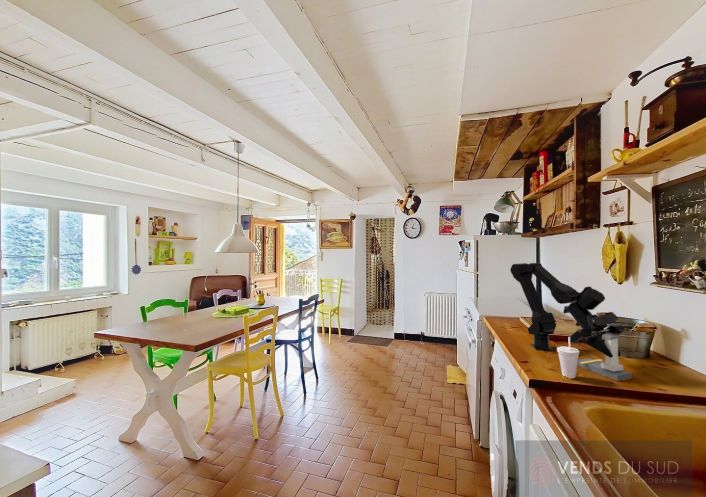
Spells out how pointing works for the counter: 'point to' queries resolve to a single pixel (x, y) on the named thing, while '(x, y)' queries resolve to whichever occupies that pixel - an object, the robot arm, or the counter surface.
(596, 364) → the grey flat slab
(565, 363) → the smoothie
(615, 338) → the white pillar
